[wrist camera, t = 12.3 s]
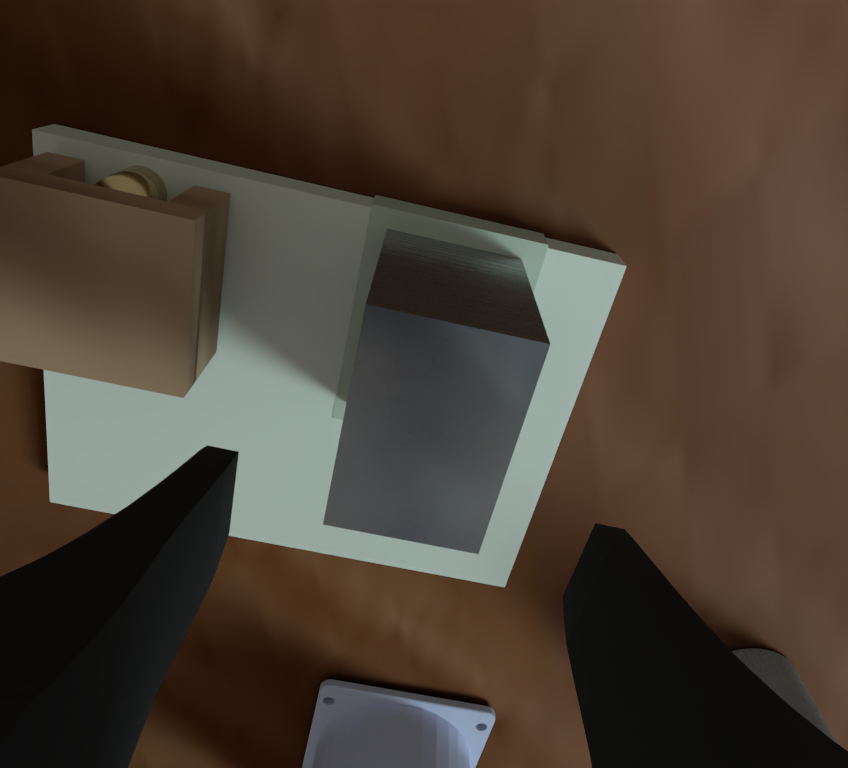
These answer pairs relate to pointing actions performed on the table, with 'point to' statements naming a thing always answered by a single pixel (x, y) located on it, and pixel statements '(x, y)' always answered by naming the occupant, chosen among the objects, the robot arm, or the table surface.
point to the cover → (108, 277)
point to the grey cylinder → (783, 682)
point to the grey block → (436, 393)
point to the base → (308, 361)
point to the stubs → (136, 182)
